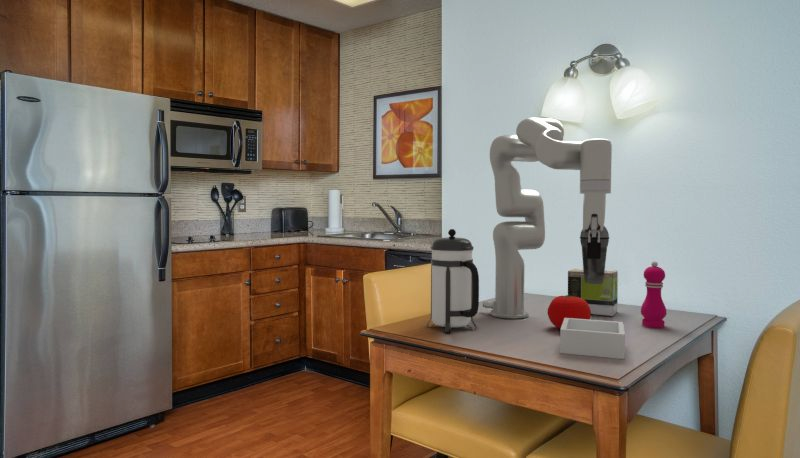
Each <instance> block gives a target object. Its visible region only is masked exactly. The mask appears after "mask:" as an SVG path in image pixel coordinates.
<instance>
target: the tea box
mask: <svg viewBox="0 0 800 458" xmlns="http://www.w3.org/2000/svg"><path fill="white" fill-rule="evenodd" d="M618 274H619V273H618V270H616V269H611V270H610V269H605V272H604V278H603V283H602V284H590V283H585V280H584V272H583V268H572V269H570V270H568V271H567V295H568V294H569V295H570V296H573V297H576V296H577V297H579V298H582V299H584V300H585V301H586V302H587V303H588V305H589V307H590V310H591V315H598V316H608V317H609V316H610V317H614V315H616V313H617V312H618V295H619V294H618V291H619V290H618V289H619V288H618V282H619V281H618V277H619V275H618Z"/></svg>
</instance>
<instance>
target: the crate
mask: <svg viewBox="0 0 800 458" xmlns="http://www.w3.org/2000/svg"><path fill="white" fill-rule="evenodd" d="M559 329H560V328H559ZM559 343H560V344H559V354H564V355H565V354H566V355H576V356H577V355H578V356H587V357H599V358H608V359H620V360H625V356H626V353H625V352H626V351H625V350H626V348H625V347H626V332H625V326H624V321H614V320H613V321H612V320H600V319H590V320H589V319H575V318H564V321H563V324H562V326H561V329H560V336H559Z"/></svg>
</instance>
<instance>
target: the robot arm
mask: <svg viewBox="0 0 800 458" xmlns="http://www.w3.org/2000/svg"><path fill="white" fill-rule="evenodd" d="M515 132H516V133H515V134H510V135H509V134H505V135H500V136H497V137H496V138H494V139H493V140H492V142H491V144H490V148H489V161H490V166H491V169H492V173H493V177H494V192H495V209H496V213H497V214H498V215H499V216H500V217H504V218H524V219H525V220H524V221H521V220H519V221H517V220H516V221H515V220H511V221H509V220H508V221H502V222H499V223H498V224H496V225H495V227H494V228H493V230H492V240H493V245H494V253H495V286H494V287H495V288H494V292H495V297H494V298H495V300H493V301H491V302H489V301H482V307H483V308H484V309H491V310H490V315H491V316H493V317H495V318H499V319H525V318H527V317H529V316H530V313H529V311H527V310H525V261H524V259H523V258H524V257H522V255H521V253H520V252H519V251H520V250H521V251H522V250H523V251H524V250H525V251H526V250H538V249H540V248H541V247H543V245H544V244H545V241H546V229H545V227H546V224H545V207H544V201H543V200H544V199H543V197H542V195H541V194H540V193H539V191H537V190H535V189H523V188H522V185H521V175H520V173H519V171H518V169H517V168H516V167H515V165H514V164H513V163H512V162H521V163H523V162H527V163H535V162H539V163H541V164H542V165H545V166H546V167H548V168H550V169H553V170H567V171H568V170H571V171H572V170H573V171H579V194H583V201H582V203H583V205H582V229H583V231H584V232H585V229H586V230H588V227H589V231H588V243H587V258H588V259H600V258H601V243H600V232H602V231H603V227H604V226H605V222H606V221H605V218H606V202H607V200H606V197H607V196H606V195H607V194H612V158H613V157H612V152H613V149H612V146H613V145H612V142H611V141H610V140H609V139H606V138H590V139H584V140H583V141H575V140H574V141H572V140H571V141H570V140H568V141H567V140H565V141H564V135H565V128H564V126H563V124H562V123H561V122H560V121H559V120H557V119H554V118H545V117H544V118H542V117H527V118H525V119H523V120H521V121H520V122H519V123H518V124H517V126H516V130H515ZM598 224H599V230H597V229H598ZM590 229H591V230H590ZM590 242H591V243H590Z"/></svg>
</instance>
